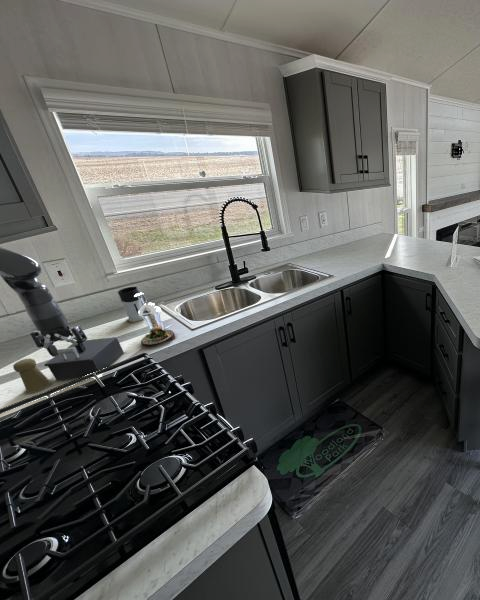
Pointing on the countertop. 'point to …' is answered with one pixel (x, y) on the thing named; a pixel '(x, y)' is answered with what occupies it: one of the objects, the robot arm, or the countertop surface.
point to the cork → (31, 375)
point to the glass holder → (131, 302)
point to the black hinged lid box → (88, 363)
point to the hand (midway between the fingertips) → (69, 353)
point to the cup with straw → (150, 313)
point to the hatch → (90, 353)
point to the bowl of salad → (157, 336)
